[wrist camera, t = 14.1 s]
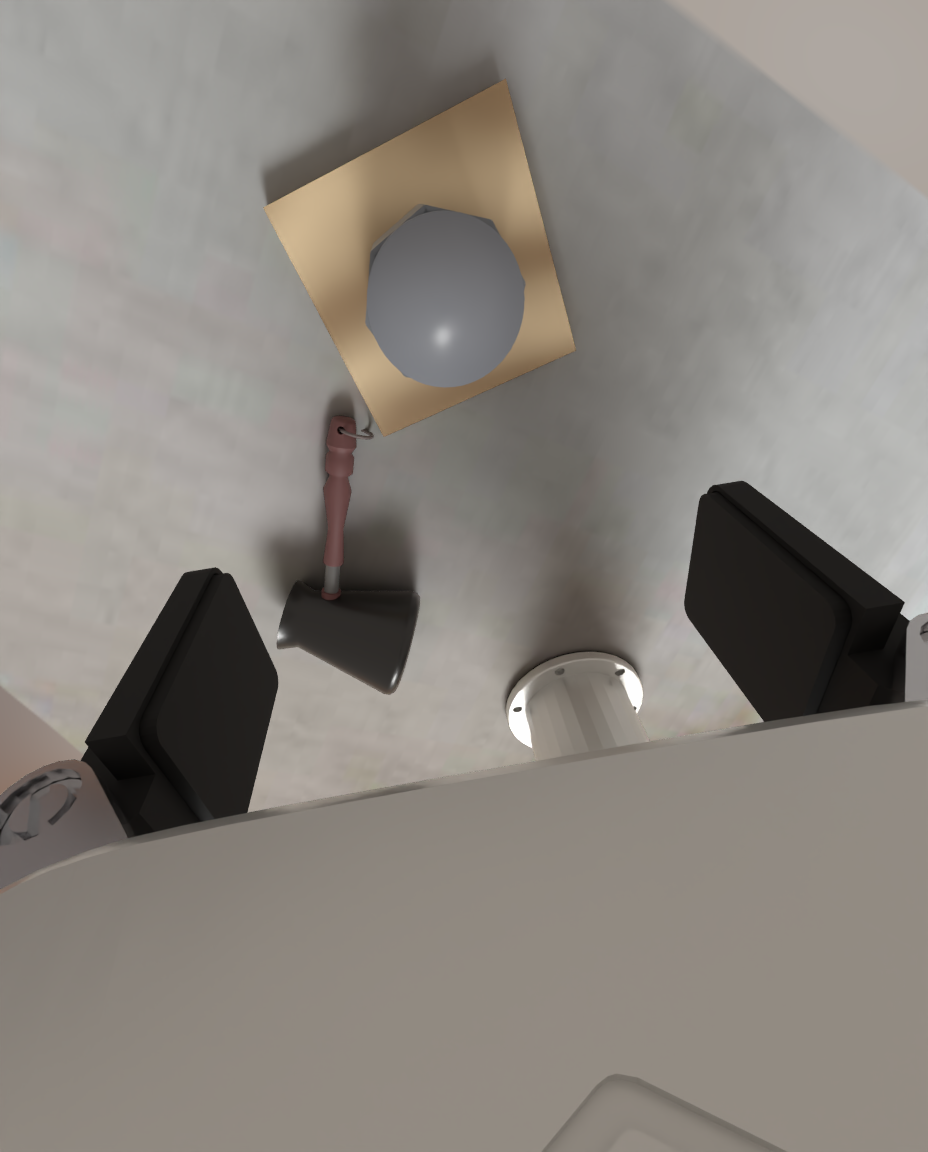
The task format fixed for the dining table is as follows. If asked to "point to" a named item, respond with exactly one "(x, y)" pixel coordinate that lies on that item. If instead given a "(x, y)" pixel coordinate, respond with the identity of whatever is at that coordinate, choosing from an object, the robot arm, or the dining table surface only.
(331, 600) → the coffee pot
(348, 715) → the dining table surface
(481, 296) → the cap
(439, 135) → the plate with round knob
